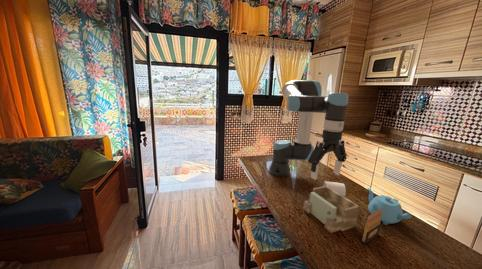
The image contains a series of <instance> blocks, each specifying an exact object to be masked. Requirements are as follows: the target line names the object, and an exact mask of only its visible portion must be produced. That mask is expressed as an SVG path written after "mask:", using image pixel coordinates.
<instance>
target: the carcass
mask: <svg viewBox="0 0 482 269" xmlns="http://www.w3.org/2000/svg"><path fill="white" fill-rule="evenodd" d="M312 192H315V193H316V194H318V195H319V196H321V197H322V198H323V199H325V200H326V201H328V202H329V203H331V204H332V205H334V206H335V207H337V210H336V216H335V221H331V220H330V219H328V218H326V220H325V224H324V228H325V230H327V231H328V232H329V233H331V234H333V233H335V232H338V231H341V232H344V231H347V230H349V229H352V228H355V227H357V223H358V218H359V215H360V209H361V206H360V205H358V204H357V203H355V202H353V201H352V200H350V199H349V198H347V197H346V196H345V197H343V196H342V195H340V194H338V193H337V192H335V191H333V190H332V189H330V188H328V187H327V186H323V185H322V186H319V187H318V186H317V187H313V188H312ZM309 200H310V194H308V199H307V200H304V201H303V207H302V209H303V211H305V212H306V213H307V214H311V213H310V209H311V204H309Z"/></svg>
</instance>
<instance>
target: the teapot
mask: <svg viewBox="0 0 482 269" xmlns="http://www.w3.org/2000/svg"><path fill="white" fill-rule="evenodd" d="M367 190H368V192H369V194H368V203H369V204H368V205H367V206H368V207H367V209H368V212H369V213H370V215H371V214H373V213H374V212H376V211H378V210H380V209H382V215H381V223H382V224H383V225H385V226H388V225H391V224H396V223H399V222H401V221H402V220H407V219H411V218H413V217H412V215H411V213H410V212H406V213H403V212H404V211H403V207H402V205H401V203H400V202H399V200H398V199H396V198H393V197H391V196H388V195H384V194H383V195H376V196H374V192H373V190H372V189H370V188H369V187H367Z"/></svg>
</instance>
